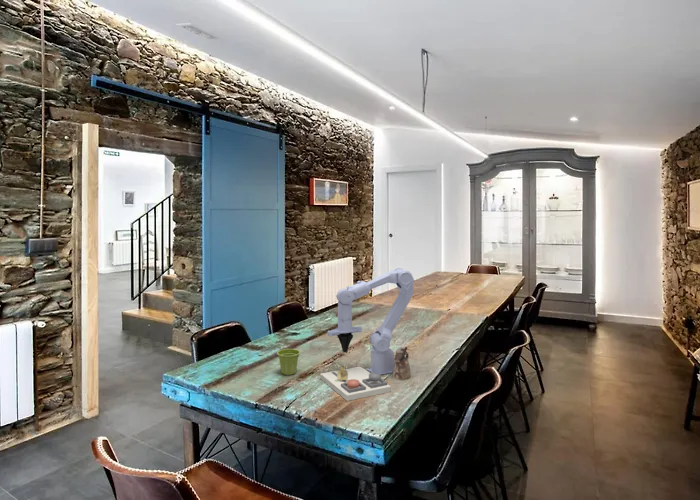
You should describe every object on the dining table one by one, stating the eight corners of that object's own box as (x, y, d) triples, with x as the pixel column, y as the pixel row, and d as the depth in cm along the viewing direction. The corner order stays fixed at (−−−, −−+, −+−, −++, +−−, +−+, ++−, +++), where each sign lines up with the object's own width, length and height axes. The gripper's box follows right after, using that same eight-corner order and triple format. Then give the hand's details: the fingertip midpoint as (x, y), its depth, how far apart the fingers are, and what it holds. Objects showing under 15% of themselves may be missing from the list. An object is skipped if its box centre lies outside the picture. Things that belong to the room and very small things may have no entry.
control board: (360, 371, 181) (360, 364, 180) (390, 391, 159) (390, 383, 159) (320, 378, 173) (320, 371, 172) (347, 401, 151) (347, 392, 151)
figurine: (389, 374, 177) (389, 345, 176) (405, 372, 179) (405, 344, 178) (397, 380, 170) (397, 350, 169) (413, 378, 172) (414, 348, 171)
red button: (355, 383, 161) (355, 378, 160) (361, 387, 157) (361, 382, 157) (345, 385, 159) (345, 380, 159) (350, 389, 155) (350, 384, 155)
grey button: (376, 376, 165) (376, 371, 164) (382, 380, 161) (382, 375, 161) (366, 378, 163) (366, 373, 162) (372, 382, 159) (372, 377, 159)
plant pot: (301, 368, 184) (300, 348, 183) (299, 376, 175) (299, 355, 174) (279, 368, 184) (278, 348, 183) (275, 377, 174) (275, 356, 174)
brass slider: (344, 376, 168) (344, 364, 167) (347, 379, 165) (347, 366, 165) (337, 378, 166) (337, 365, 166) (340, 380, 164) (340, 367, 163)
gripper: (356, 314, 183) (356, 346, 184) (324, 318, 176) (324, 351, 177) (364, 318, 176) (364, 350, 177) (331, 322, 170) (331, 356, 171)
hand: (344, 351), depth 177 cm, fingers closed
